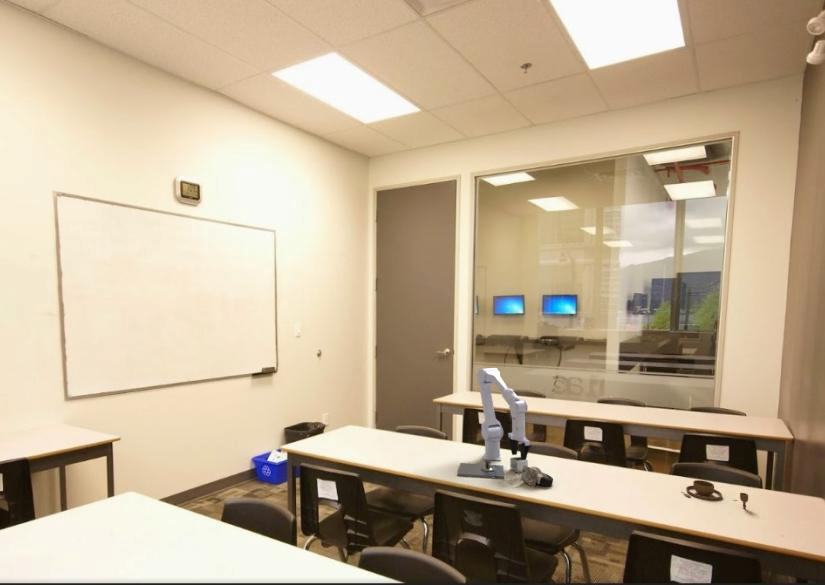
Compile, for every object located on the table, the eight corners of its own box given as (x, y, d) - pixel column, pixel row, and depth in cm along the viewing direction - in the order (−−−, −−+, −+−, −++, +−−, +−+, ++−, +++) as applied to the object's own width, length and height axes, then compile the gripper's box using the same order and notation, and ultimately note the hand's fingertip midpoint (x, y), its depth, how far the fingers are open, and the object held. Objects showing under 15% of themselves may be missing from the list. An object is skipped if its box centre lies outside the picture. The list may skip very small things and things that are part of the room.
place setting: (717, 490, 182) (717, 475, 182) (752, 512, 162) (752, 495, 162) (673, 489, 183) (673, 474, 183) (703, 511, 163) (703, 494, 163)
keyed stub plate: (460, 464, 210) (460, 455, 210) (503, 467, 206) (503, 457, 207) (457, 475, 196) (457, 465, 196) (504, 478, 193) (503, 468, 193)
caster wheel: (553, 489, 188) (544, 493, 180) (529, 477, 195) (519, 480, 188) (557, 473, 188) (548, 477, 180) (533, 462, 195) (523, 464, 188)
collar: (510, 468, 205) (510, 457, 205) (520, 467, 207) (520, 456, 207) (517, 473, 200) (517, 461, 200) (527, 471, 201) (527, 460, 202)
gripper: (502, 424, 209) (503, 453, 209) (519, 431, 196) (520, 463, 195) (515, 422, 212) (516, 451, 211) (533, 430, 198) (534, 461, 197)
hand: (519, 457), depth 203 cm, fingers open, 7 cm apart
